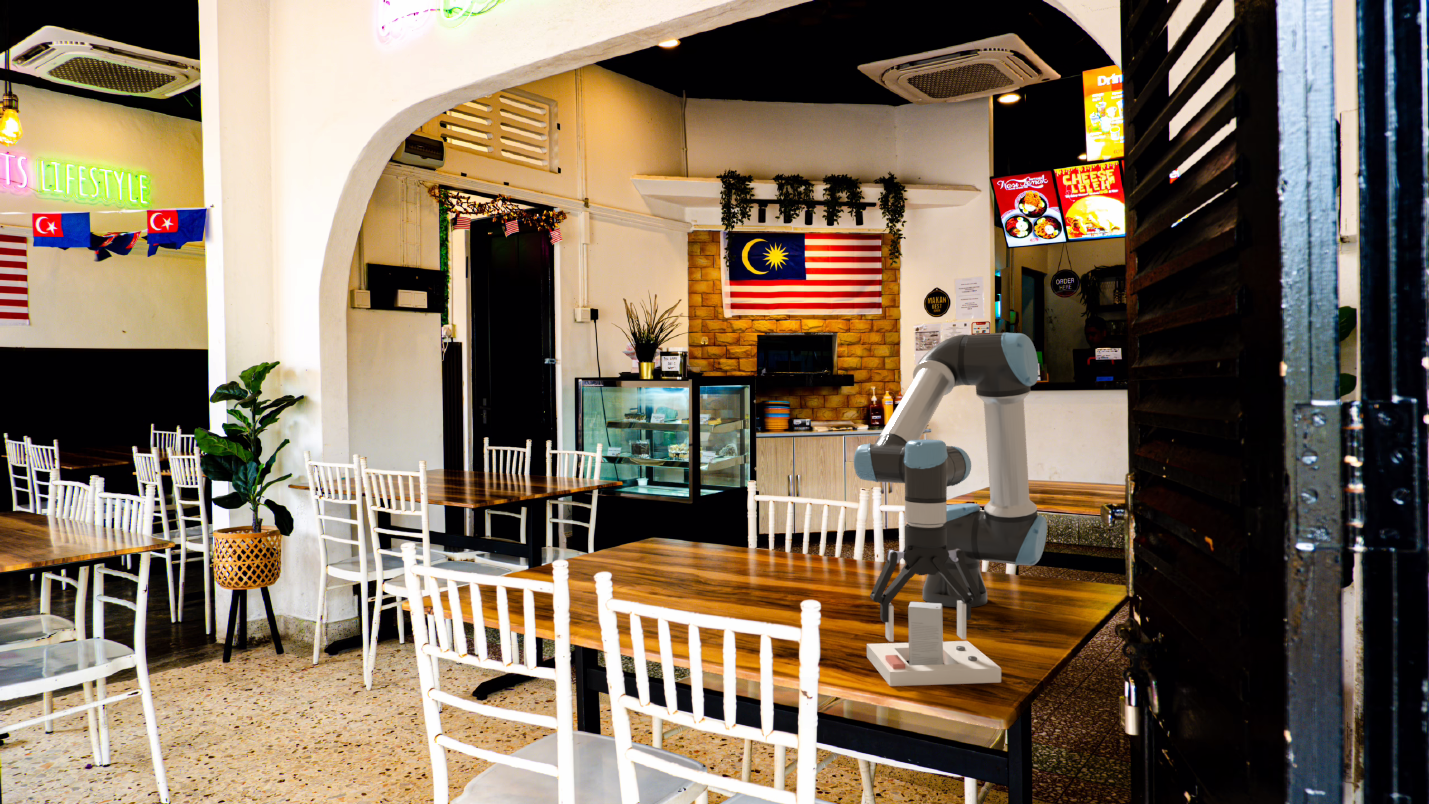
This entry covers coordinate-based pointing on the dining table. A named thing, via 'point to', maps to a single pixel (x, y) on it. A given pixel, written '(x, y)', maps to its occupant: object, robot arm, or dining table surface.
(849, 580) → the dining table surface
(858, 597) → the dining table surface
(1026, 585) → the dining table surface
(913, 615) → the skincare box
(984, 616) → the dining table surface
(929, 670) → the socket plate
